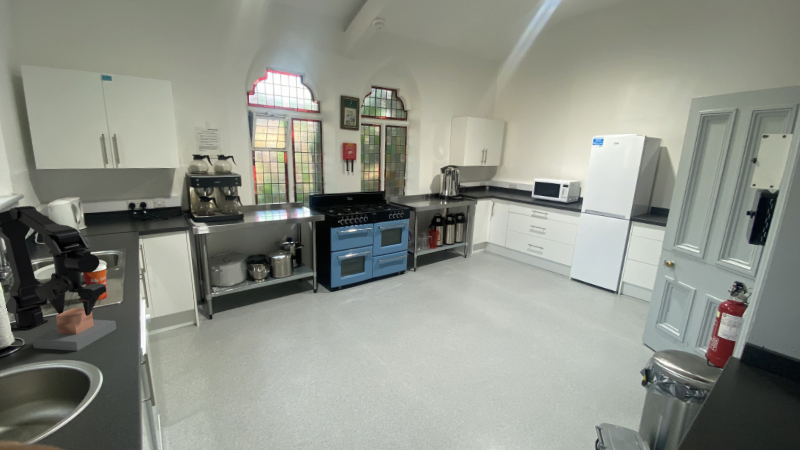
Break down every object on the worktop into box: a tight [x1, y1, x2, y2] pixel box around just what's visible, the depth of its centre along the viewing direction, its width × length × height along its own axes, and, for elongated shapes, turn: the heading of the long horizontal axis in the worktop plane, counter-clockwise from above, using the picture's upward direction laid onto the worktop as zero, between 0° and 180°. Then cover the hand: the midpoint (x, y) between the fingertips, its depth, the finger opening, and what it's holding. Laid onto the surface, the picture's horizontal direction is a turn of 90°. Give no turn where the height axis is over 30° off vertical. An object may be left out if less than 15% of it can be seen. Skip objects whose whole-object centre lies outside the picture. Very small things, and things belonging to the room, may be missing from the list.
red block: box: [55, 307, 94, 334], centre depth 112 cm, size 6×6×6 cm
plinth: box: [32, 319, 117, 352], centre depth 113 cm, size 14×14×3 cm
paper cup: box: [83, 263, 108, 301], centre depth 142 cm, size 8×8×14 cm
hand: (74, 314), depth 111 cm, fingers open, 9 cm apart
